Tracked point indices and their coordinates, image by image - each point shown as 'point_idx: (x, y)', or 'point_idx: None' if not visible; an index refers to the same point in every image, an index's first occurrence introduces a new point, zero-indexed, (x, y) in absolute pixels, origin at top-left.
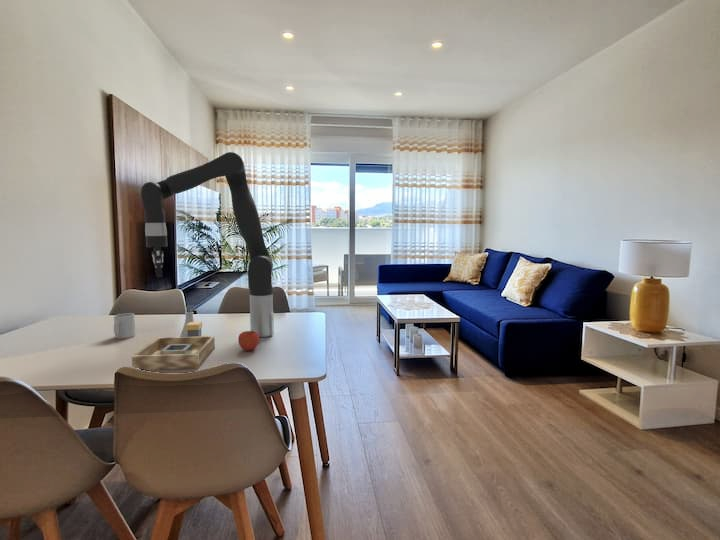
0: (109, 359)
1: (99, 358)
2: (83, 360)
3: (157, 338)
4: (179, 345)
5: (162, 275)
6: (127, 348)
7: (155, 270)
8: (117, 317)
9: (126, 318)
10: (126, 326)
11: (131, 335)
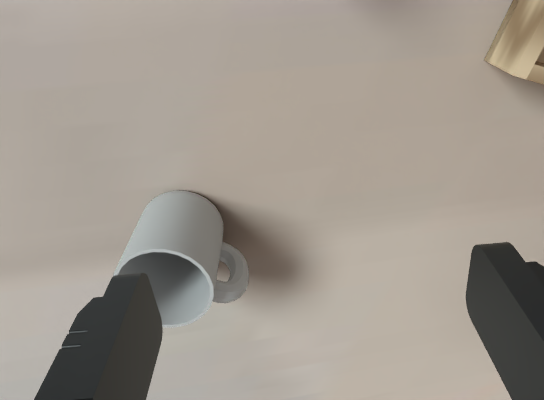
0: (523, 226)
1: None
2: None
3: (536, 77)
4: None
5: (515, 250)
6: (395, 190)
7: (147, 390)
8: (207, 309)
9: (210, 270)
10: (216, 245)
11: (208, 203)
